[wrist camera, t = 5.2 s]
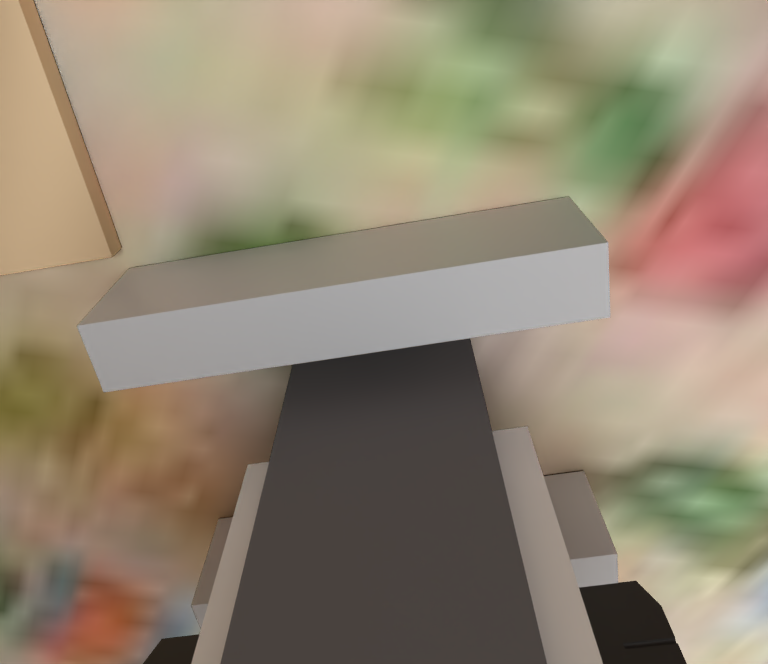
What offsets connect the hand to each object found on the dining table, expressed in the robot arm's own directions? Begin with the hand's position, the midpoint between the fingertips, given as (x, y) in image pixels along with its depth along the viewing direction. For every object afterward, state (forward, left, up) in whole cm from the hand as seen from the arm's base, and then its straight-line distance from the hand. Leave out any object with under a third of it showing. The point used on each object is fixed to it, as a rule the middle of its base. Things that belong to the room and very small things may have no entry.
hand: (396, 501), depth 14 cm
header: (0, 0, -4) cm, 4 cm away
